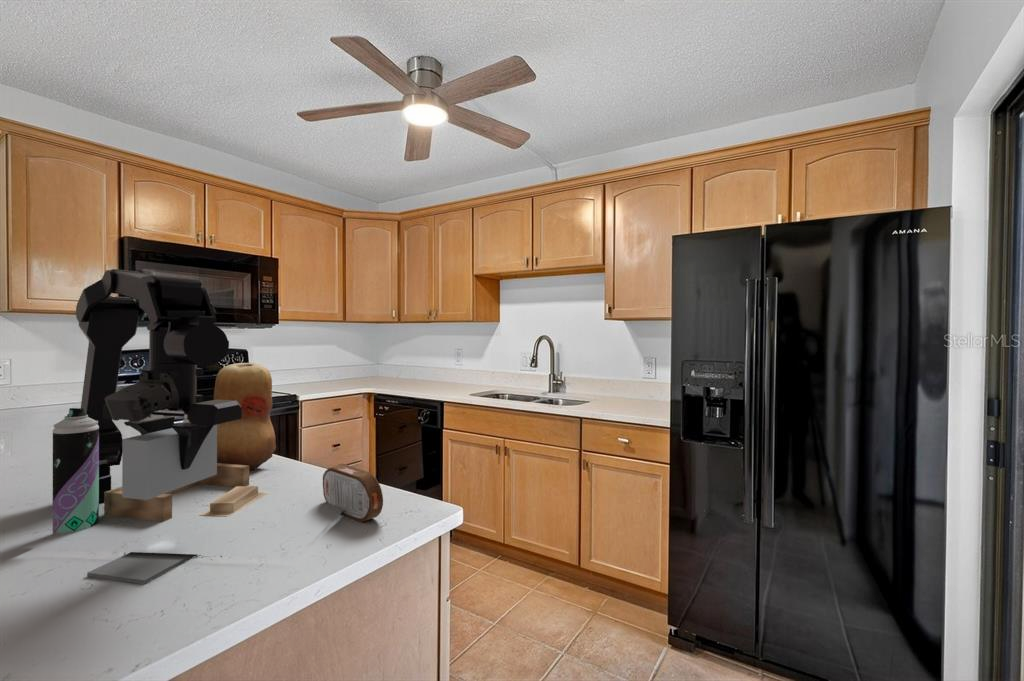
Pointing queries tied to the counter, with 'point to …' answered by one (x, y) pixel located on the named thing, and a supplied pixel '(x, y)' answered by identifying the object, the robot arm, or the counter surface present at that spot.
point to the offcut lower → (226, 514)
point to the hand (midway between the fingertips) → (172, 467)
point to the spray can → (75, 472)
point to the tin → (353, 492)
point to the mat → (139, 566)
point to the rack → (169, 495)
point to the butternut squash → (246, 415)
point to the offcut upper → (234, 499)
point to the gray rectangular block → (163, 464)
